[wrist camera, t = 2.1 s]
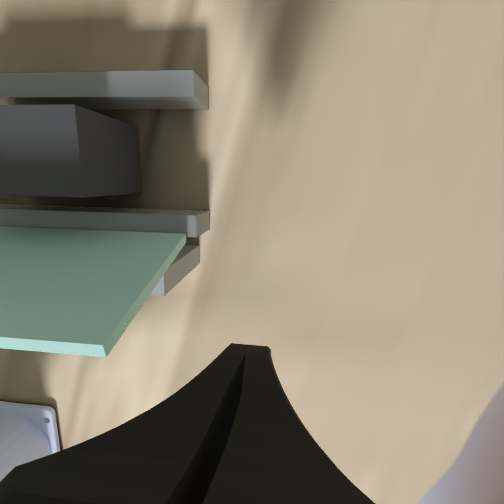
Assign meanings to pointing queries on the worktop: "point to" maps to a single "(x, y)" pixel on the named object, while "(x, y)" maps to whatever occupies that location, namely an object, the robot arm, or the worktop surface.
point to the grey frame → (112, 98)
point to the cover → (77, 285)
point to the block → (66, 152)
